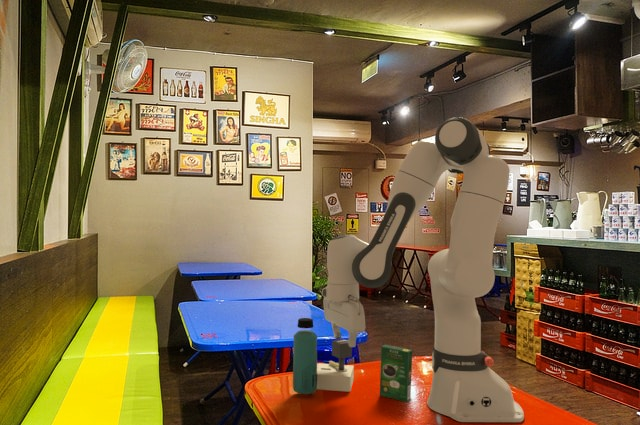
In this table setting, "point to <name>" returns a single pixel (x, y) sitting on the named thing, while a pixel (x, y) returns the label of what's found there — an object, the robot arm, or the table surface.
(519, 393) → the table surface
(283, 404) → the table surface
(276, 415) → the table surface
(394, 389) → the coffee box
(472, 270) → the robot arm
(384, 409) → the table surface
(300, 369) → the beverage bottle
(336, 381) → the cream square baseplate
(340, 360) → the dark box with stem
